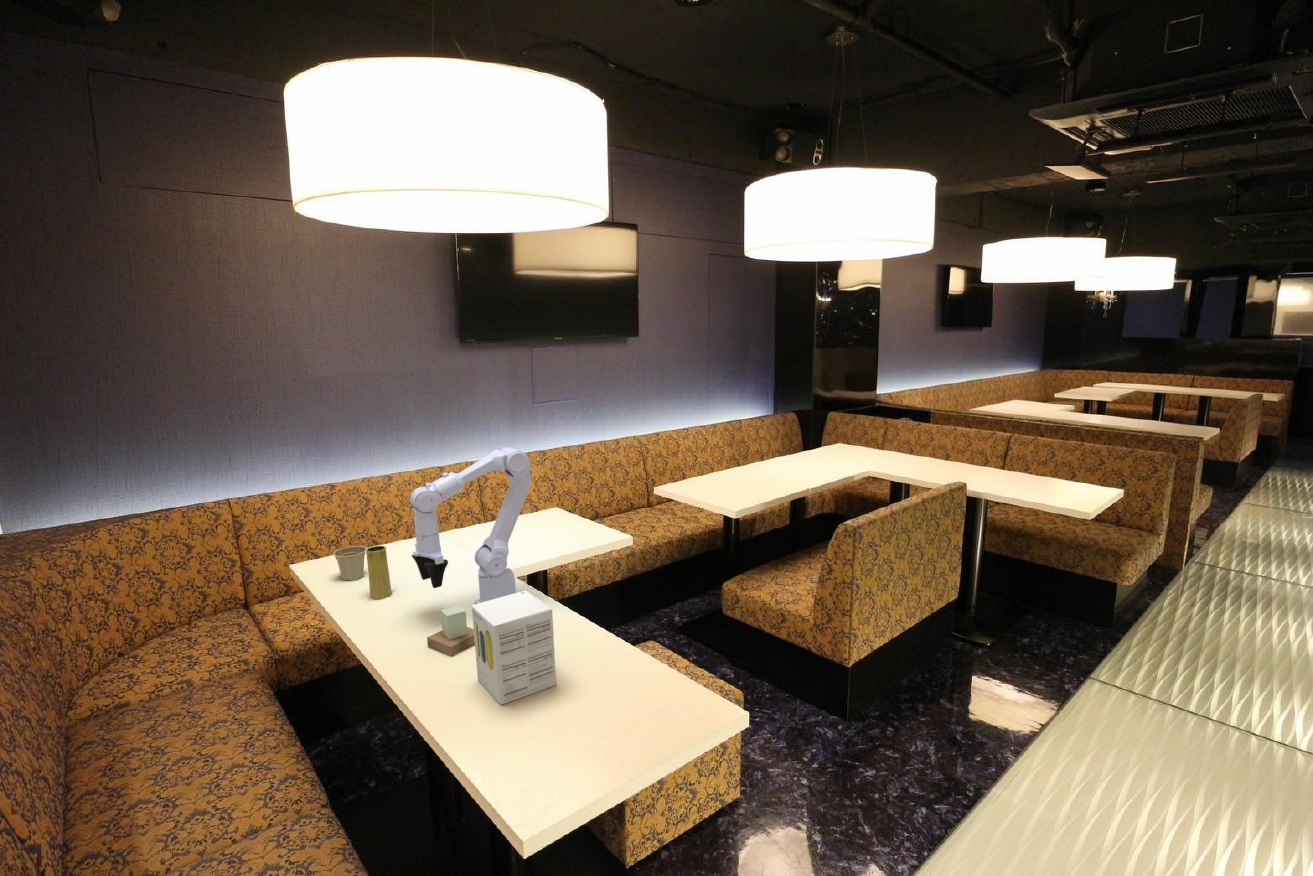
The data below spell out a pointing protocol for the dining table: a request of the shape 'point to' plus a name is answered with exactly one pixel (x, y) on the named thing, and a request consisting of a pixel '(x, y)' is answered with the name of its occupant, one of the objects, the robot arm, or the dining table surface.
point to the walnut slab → (451, 642)
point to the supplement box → (514, 646)
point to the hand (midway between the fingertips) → (431, 582)
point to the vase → (378, 572)
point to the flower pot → (351, 562)
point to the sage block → (454, 622)
